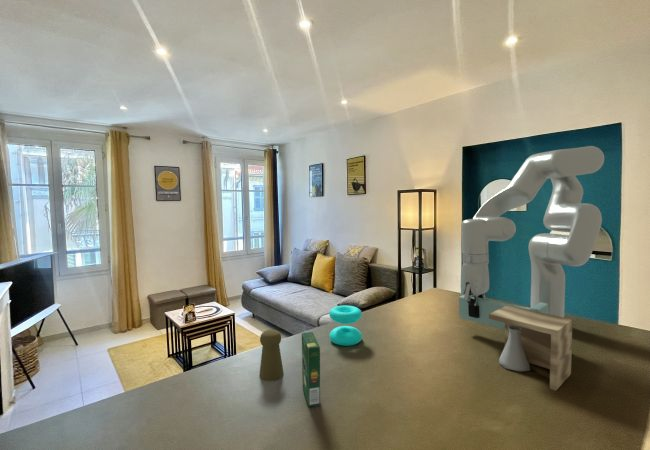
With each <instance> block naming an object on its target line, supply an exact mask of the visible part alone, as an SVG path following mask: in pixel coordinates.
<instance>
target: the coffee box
mask: <svg viewBox="0 0 650 450" xmlns="http://www.w3.org/2000/svg"><path fill="white" fill-rule="evenodd" d="M301 361H302V362H301V363H302V364H301V368H302V369H301V371H302V372H301V373H302V375H301V376H302V389H303V392H304V396H305V399H306V403H307V407H308V408H310V407H318V406H321V346H320V343H319V342H318V340H317V338H316V335H315V334H314V332H313V331H308V332H301Z"/></svg>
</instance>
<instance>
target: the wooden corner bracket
mask: <svg viewBox="0 0 650 450" xmlns="http://www.w3.org/2000/svg"><path fill="white" fill-rule="evenodd" d="M489 319H492V320H496V321H500V322H504V323H505V330H504V346H505V345H506V343H507V341H508V337H509V330H508V326H518V327H520V328H522V332H521V335H520V337H521V343H522V346H523V349H524V352H525V355H526V357H527V360H528V363H529V364H532V365H535V366H538V367H540V368H541V367H542V368H545V369H547V370H549V389H550V390H552V391H555V392H556V391H558V390H559V388H560V387H561V386H562V385H563V383H564V382H565V381H566V380H567V379H569V377H570V375H571V374H572V351H573V350H572V349H573V318H568V317H565V316H564V317H559V316H555V315H550V314H545V313H541V312H536V311H532V310H527V309H522V308H518V307H513V306H508V305H507V306H505V307H503V308H500V309H498V310H496V311H494V312H492V313H490V314H489Z"/></svg>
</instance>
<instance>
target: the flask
mask: <svg viewBox="0 0 650 450" xmlns="http://www.w3.org/2000/svg"><path fill="white" fill-rule="evenodd" d="M508 330H509V337H508V341H507V343H506V345H505V344H504V347H503V350H502V352H501V354H500V357H499V359H498V364H499V365H500V366H502V367H503V368H505V369H506V370H510V371H516V372H529V371H531V367H530V363H529V362H528V360H527V357H526V355H525V352H524V349H523V346H522V343H521V337H520V335H521V332H522V328H520V327H518V326H508Z"/></svg>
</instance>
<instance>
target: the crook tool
mask: <svg viewBox="0 0 650 450" xmlns="http://www.w3.org/2000/svg"><path fill="white" fill-rule="evenodd" d="M464 295H465V294H464ZM464 295H463V294H461V295H460V296H458V308H459V309H458V311H459V313H458V315H459V319H463V320H466V321H470V322H475V323H479V324H482V325H485V326H489V327H493V328H498V329H502V330H504V331H505V323H504V322H500V321H496V320H492V319H489V314H490V313H492V312H494V311H496V310H498V309H500V308H503V307H505V306H507V305H508V306H513V307H518V308H522V309H527V310H532V311H536V312H541V313H545V314H548V304H546V303H541V302H540V303H539V304H537V305H536V306H534V307H533V308H531V307H528V306H527V307H526V306H522V305H517V304H513V303H507V302H503V301H498V300H492V299H487V298H486V299H483V298H478V305H479V318H474V317H470V316H469V313H468V304H467V301H466V300H465V299H464ZM471 298H473V299H474V297H471Z"/></svg>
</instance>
